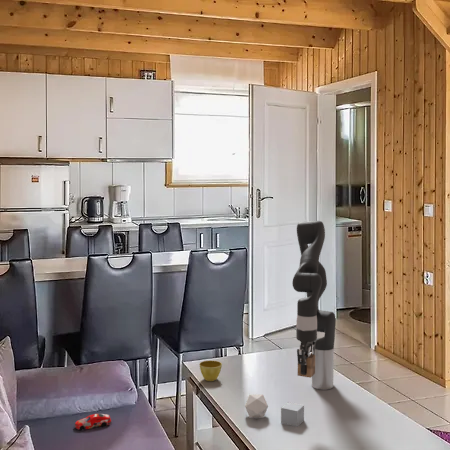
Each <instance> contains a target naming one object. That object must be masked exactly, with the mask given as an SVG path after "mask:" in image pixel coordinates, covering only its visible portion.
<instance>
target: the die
mask: <svg viewBox="0 0 450 450" xmlns="http://www.w3.org/2000/svg"><path fill="white" fill-rule="evenodd" d="M268 407H269V405H268V403H267V400H266V398H265V395H264V394H249V395H248V397H247V400H246V403H245V405H244V408H245V410H246V413H247V415H248V417H249V419H264V418H265V415H266V413H267V409H268Z"/></svg>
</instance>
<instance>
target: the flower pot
mask: <svg viewBox="0 0 450 450" xmlns="http://www.w3.org/2000/svg"><path fill="white" fill-rule="evenodd" d="M222 365H223V364H222V362H221V361H218V360H203V361H201V362H199V370H200V373H201V375H202V378H203V379H204V380H205V381H207V382H214V380H215V381H216V380H217V379H218V377H219V376H220V374H221V370H222V367H223V366H222Z"/></svg>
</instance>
